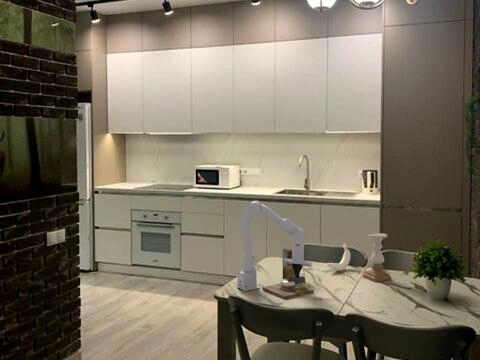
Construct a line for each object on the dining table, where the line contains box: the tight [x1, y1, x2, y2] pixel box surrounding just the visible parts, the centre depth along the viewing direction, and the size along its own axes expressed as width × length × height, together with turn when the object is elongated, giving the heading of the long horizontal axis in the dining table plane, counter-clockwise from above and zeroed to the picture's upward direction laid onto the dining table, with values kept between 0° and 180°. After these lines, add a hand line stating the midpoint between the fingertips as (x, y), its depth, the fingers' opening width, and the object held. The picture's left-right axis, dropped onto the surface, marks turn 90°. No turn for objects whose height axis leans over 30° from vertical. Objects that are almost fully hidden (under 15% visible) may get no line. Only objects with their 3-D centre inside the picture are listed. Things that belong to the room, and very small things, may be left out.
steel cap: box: [280, 275, 306, 288], centre depth 258 cm, size 12×7×4 cm, turn 111°
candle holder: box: [362, 232, 392, 283], centre depth 279 cm, size 11×11×24 cm
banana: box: [326, 242, 351, 272], centre depth 296 cm, size 5×19×15 cm, turn 136°
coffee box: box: [281, 248, 295, 280], centre depth 279 cm, size 9×6×16 cm
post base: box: [262, 282, 315, 300], centre depth 258 cm, size 18×18×2 cm
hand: (297, 278), depth 261 cm, fingers closed, pressing on steel cap
